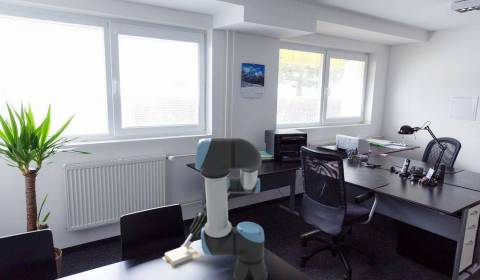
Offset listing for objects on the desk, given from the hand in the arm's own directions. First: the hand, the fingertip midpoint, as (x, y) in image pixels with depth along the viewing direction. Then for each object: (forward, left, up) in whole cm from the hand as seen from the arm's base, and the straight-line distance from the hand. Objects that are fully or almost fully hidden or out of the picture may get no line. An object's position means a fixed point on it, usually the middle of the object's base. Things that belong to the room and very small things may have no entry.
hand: (185, 246), depth 145 cm
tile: (0, -1, -3) cm, 4 cm away
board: (0, +2, -6) cm, 6 cm away
